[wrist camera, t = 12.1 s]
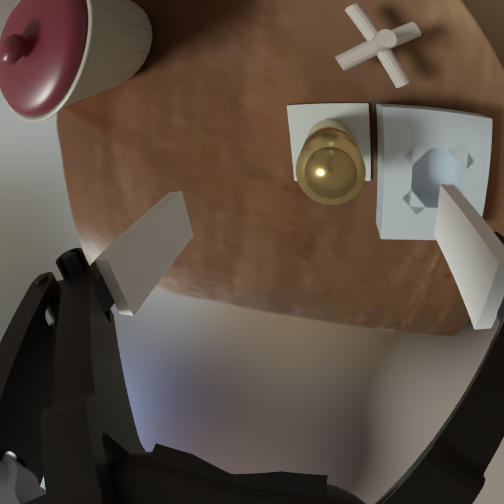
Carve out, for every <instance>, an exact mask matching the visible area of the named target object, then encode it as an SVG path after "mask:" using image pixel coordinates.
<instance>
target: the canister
mask: <svg viewBox="0 0 504 504" xmlns="http://www.w3.org/2000/svg"><path fill="white" fill-rule="evenodd" d="M152 34H153V32H152V26H151V24H150V19H149V18H148V15H147V14H146V13H145V12H144V10H143V9H142V8H141V7H139V6H138V5H137V4H136V3H134V2H132V1H130V0H19V1H18V3H17V4H16V6H15V7H14V9H13V11H12V12H11V14H10V16H9V18H8V20H7V22H6V24H5V26H4V29H3V32H2V35H1V38H0V88H1V91H2V94H3V96H4V99H5V101H6V103H7V105H8V107H9V108H10V109H11V111H12V112H13V113H14V114H15V115H16V116H17V117H19V118H20V119H22V120H24V121H27V122H32V123H35V122H41V121H44V120H47V119H49V118H51V117H52V116H54V115H55V114H56V113H57V112H59V111H60V110H61V109H62V108H63V107H65V106H67V105H69V104H72V103H74V102H76V101H79V100H81V99H84V98H87V97H89V96H92V95H94V94H97V93H100V92H102V91H105V90H107V89H110V88H113V87H115V86H118V85H120V84H121V83H123V82H125V81H127V80H128V79H129V78H131V77H132V76H133V75H134V74H135V73H136V72H137V71H138V70H139V68H140V67H141V66H142V65H143V63H144V61H145V60H146V59H147V55H148V54H149V50H150V47H151V42H152Z"/></svg>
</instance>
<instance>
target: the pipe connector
mask: <svg viewBox="0 0 504 504" xmlns="http://www.w3.org/2000/svg"><path fill="white" fill-rule="evenodd" d="M345 11H346V13H347V14H348V15H349V16H350V18H351V19H352V20H353V22H354V23H355V25H356V26H357V27H358V29H359V30H360V31H361V33H362V34H363V36H364V37H365V39H366V40H367V41H366V42H364V43H362V44H360V45H358V46H356V47H354V48H352V49H350V50H348V51H346V52H344V53H342V54H340V55H338V56H336V57H335V58H336V60H337V61H338V63H339V64H340V66H341V67H342V69H343V70H344V71H346V70H348V69H350V68H352V67H354V66H356V65H358V64H360V63H362V62H364V61H366V60H368V59H370V58H372V57H374V56H376V55H377V57H378V58H379V60H380V61H381V63H382V65H383V66H384V68H385V69H386V71H387V73H388V74H389V76H390V78H391V80H392V81H393V83H394V85H395V87H396V88H399V87H402V86H404V85H406V84H408V83H410V81H409V79H408V77H407V75H406V74H405V72H404V70H403V68H402V67H401V65H400V63H399V62H398V60H397V58H396V57H395V55H394V54H393V52H392V50H391V48H394V47H396V46H398V45H401V44H403V43H405V42H408V41H410V40H412V39H415V38H417V37H420V36H421V32H420V30H419V28H418V26H417V25H416V24H415V23H414V22H410V23H407V24H405V25H402V26H400V27H397V28H395V29H393V30H387V29H383V30H381V31H378V29H377V28H376V26H375V25H374V24H373V22H372V21H371V19H370V18H369V17H368V15H367V14H366V13H365V11H364V10H363V9H362V7H361V6H360V5H359V3H356V4H353V5H351V6H349V7H347V8H346V9H345Z"/></svg>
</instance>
